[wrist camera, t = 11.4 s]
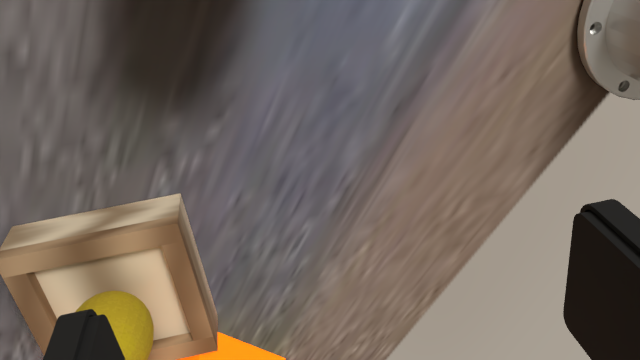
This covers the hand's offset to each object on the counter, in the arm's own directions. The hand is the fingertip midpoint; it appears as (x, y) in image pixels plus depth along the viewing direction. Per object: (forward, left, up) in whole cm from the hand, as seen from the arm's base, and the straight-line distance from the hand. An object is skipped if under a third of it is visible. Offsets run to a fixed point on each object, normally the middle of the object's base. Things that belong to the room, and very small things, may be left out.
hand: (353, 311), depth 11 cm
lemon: (+14, +18, -26) cm, 34 cm away
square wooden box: (+14, +18, -28) cm, 36 cm away
